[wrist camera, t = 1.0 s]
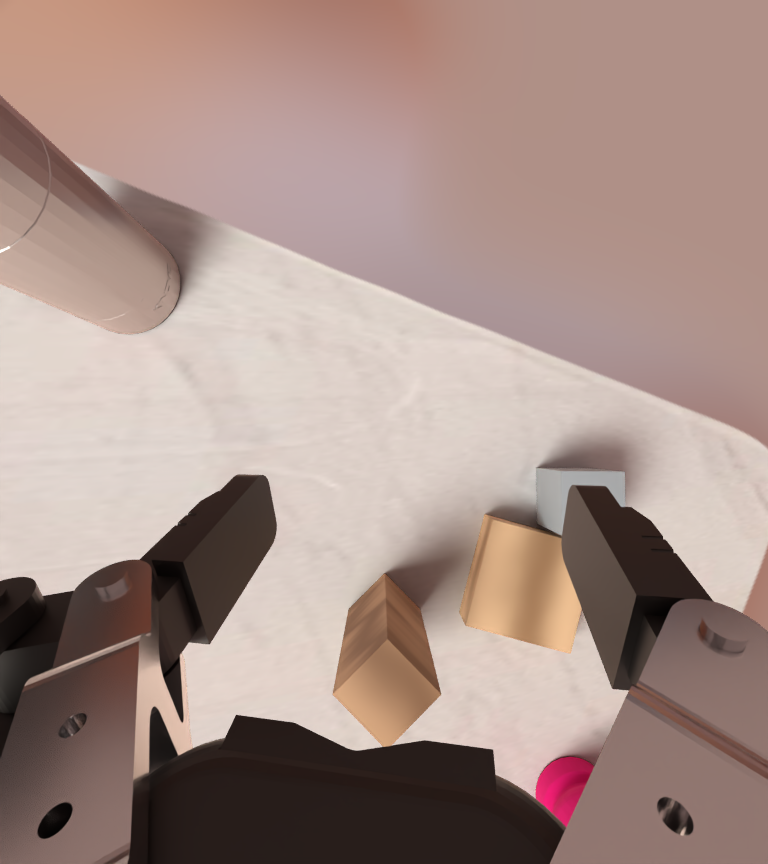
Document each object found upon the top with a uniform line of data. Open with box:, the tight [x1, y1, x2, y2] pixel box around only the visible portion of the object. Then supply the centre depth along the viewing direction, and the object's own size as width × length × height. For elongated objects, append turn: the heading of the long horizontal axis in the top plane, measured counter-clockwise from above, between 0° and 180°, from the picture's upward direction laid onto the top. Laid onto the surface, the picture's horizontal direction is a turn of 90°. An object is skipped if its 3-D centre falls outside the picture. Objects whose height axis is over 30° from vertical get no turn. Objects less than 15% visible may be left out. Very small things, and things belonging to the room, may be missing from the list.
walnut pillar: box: [333, 573, 441, 747], centre depth 29 cm, size 4×4×12 cm
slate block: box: [536, 468, 625, 536], centre depth 33 cm, size 5×5×5 cm
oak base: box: [459, 514, 582, 654], centre depth 34 cm, size 9×9×3 cm
